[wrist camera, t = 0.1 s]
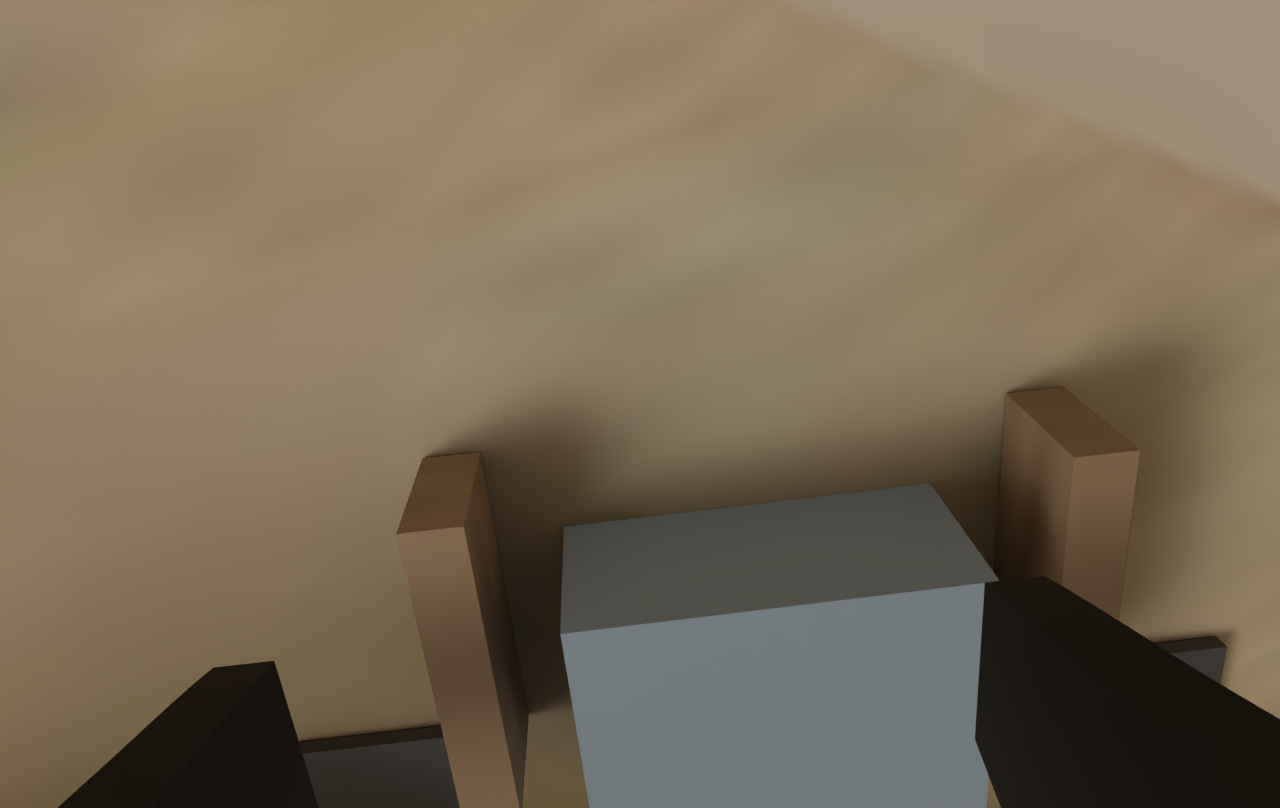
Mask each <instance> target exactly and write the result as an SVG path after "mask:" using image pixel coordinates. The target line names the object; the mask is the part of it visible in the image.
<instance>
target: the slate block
mask: <svg viewBox="0 0 1280 808" xmlns="http://www.w3.org/2000/svg"><path fill="white" fill-rule="evenodd" d="M994 581H999V579H998V578H997V576H996V575H995V574H994V572H993V571H992V569H991V568H990V567H989V565H988V564H987V562H986V561H985V559H984V558H983V557H982V555H981V554H980V552H979V551H978V550H977V548H976V547H975V545H974V544H973V543H972V541H971V540H970V538H969V537H968V536H967V534H966V533H965V531H964V530H963V529H962V527H961V526H960V524H959V523H958V522H957V520H956V519H955V517H954V516H953V515H952V513H951V512H950V510H949V509H948V508H947V506H946V505H945V503H944V502H943V501H942V499H941V498H940V496H939V495H938V494H937V492H936V491H935V489H934V488H933V487H932V485H931V484H930V483H928V484H919V485H911V486H902V487H894V488H886V489H877V490H869V491H860V492H852V493H844V494H835V495H827V496H818V497H810V498H802V499H793V500H785V501H776V502H768V503H760V504H751V505H743V506H734V507H726V508H718V509H709V510H701V511H692V512H684V513H676V514H667V515H659V516H650V517H642V518H634V519H625V520H617V521H608V522H600V523H592V524H583V525H575V526H566V527H564V535H563V566H562V597H561V629H560V635H561V641H562V647H563V653H564V659H565V665H566V671H567V677H568V683H569V689H570V695H571V701H572V707H573V713H574V718H575V724H576V730H577V736H578V742H579V748H580V754H581V760H582V766H583V772H584V778H585V784H586V790H587V796H588V802H589V808H987V792H988V772H987V770H986V767H985V765H984V762H983V759H982V757H981V754H980V752H979V749H978V746H977V744H976V741H975V728H976V712H977V697H978V681H979V665H980V650H981V634H982V618H983V603H984V587H985V582H994Z"/></svg>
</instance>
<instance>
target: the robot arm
mask: <svg viewBox="0 0 1280 808" xmlns="http://www.w3.org/2000/svg"><path fill="white" fill-rule="evenodd" d="M975 741H976V744H977V746H978V749H979V752H980V754H981V757H982V759H983V762H984V765H985V767H986V770H987V772H988V775H989V778H990V780H991V783H992V786H993V788H994V791H995V793H996V796H997V798H998V801H999V803H1000V805H1001V808H1280V719H1278V718H1277V717H1275V716H1273V715H1271V714H1270V713H1268V712H1266V711H1265V710H1263V709H1261V708H1259V707H1258V706H1256V705H1254V704H1253V703H1251V702H1249V701H1248V700H1246V699H1244V698H1243V697H1241V696H1239V695H1238V694H1236V693H1234V692H1232V691H1231V690H1229V689H1227V688H1226V687H1224V686H1223V685H1221V684H1219V683H1218V682H1216V681H1214V680H1213V679H1211V678H1209V677H1208V676H1206V675H1204V674H1203V673H1201V672H1200V671H1198V670H1196V669H1195V668H1193V667H1191V666H1190V665H1188V664H1187V663H1185V662H1183V661H1182V660H1180V659H1179V658H1177V657H1175V656H1174V655H1172V654H1170V653H1169V652H1167V651H1166V650H1164V649H1162V648H1161V647H1159V646H1158V645H1156V644H1155V643H1153V642H1151V641H1150V640H1148V639H1147V638H1145V637H1143V636H1142V635H1140V634H1139V633H1137V632H1136V631H1134V630H1132V629H1131V628H1129V627H1128V626H1126V625H1124V624H1123V623H1121V622H1120V621H1118V620H1116V619H1115V618H1113V617H1112V616H1110V615H1109V614H1107V613H1105V612H1104V611H1102V610H1101V609H1099V608H1097V607H1096V606H1094V605H1093V604H1091V603H1089V602H1088V601H1086V600H1085V599H1083V598H1081V597H1080V596H1078V595H1076V594H1075V593H1073V592H1071V591H1070V590H1068V589H1066V588H1065V587H1063V586H1061V585H1060V584H1058V583H1056V582H1054V581H1053V580H1051V579H1049V578H1047V577H1045V576H1039V577H1030V578H1021V579H1012V580H1003V581H994V582H985V587H984V603H983V618H982V634H981V650H980V665H979V681H978V697H977V712H976V728H975ZM58 808H319V807H318V803H317V800H316V797H315V793H314V790H313V787H312V784H311V780H310V777H309V774H308V770H307V767H306V764H305V761H304V757H303V754H302V751H301V748H300V744H299V741H298V738H297V734H296V731H295V728H294V725H293V721H292V718H291V715H290V711H289V708H288V705H287V702H286V698H285V695H284V692H283V689H282V685H281V682H280V679H279V675H278V672H277V669H276V666H275V662H274V661H269V662H260V663H251V664H242V665H233V666H224V667H215V668H213V669H211V670H210V671H209V672H208V673H207V674H205V675H204V676H203V677H202V678H200V679H199V680H198V681H197V682H196V683H194V684H193V685H192V686H191V687H190V688H189V689H188V690H186V691H185V692H184V693H183V694H182V695H181V696H180V697H179V698H177V699H176V700H175V701H174V702H173V703H172V704H171V705H170V706H169V707H167V708H166V709H165V710H164V711H163V712H162V713H161V714H160V715H159V716H158V717H156V718H155V719H154V720H153V721H152V722H151V723H150V724H149V725H148V726H147V727H146V728H145V729H143V730H142V731H141V732H140V733H139V734H138V735H137V736H136V737H135V738H134V739H133V740H132V741H130V742H129V743H128V744H127V745H126V746H125V747H124V748H123V749H122V750H121V751H120V752H119V753H117V754H116V755H115V756H114V757H113V758H112V759H111V760H110V761H109V762H108V763H107V764H105V765H104V766H103V767H102V768H101V769H100V770H99V771H98V772H97V773H96V774H94V775H93V776H92V777H91V778H90V779H89V780H88V781H87V782H86V783H84V784H83V785H82V786H81V787H80V788H79V789H78V790H77V791H76V792H75V793H73V794H72V795H71V796H70V797H69V798H68V799H67V800H66V801H65V802H64V803H62V804H61V805H60V806H59V807H58Z"/></svg>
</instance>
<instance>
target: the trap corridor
mask: <svg viewBox="0 0 1280 808" xmlns="http://www.w3.org/2000/svg"><path fill="white" fill-rule="evenodd" d="M1139 456H1140V450H1139V449H1138V448H1137V447H1136V446H1134V445H1133V444H1132V443H1131V442H1129V441H1128V440H1127V439H1126V438H1125V437H1123V436H1122V435H1121V434H1120V433H1118V432H1117V431H1116V430H1115V429H1114V428H1112V427H1111V426H1110V425H1109V424H1107V423H1106V422H1105V421H1104V420H1103V419H1101V418H1100V417H1099V416H1098V415H1096V414H1095V413H1094V412H1093V411H1092V410H1090V409H1089V408H1088V407H1087V406H1085V405H1084V404H1083V403H1082V402H1080V401H1079V400H1078V399H1077V398H1076V397H1074V396H1073V395H1072V394H1071V393H1069V392H1068V391H1067V390H1066V389H1065V388H1063V387H1057V388H1048V389H1040V390H1031V391H1022V392H1013V393H1006V397H1005V413H1004V429H1003V445H1002V461H1001V476H1000V492H999V508H998V524H997V539H996V555H995V571H994V574H995V575H996V576H997V578H998V579H999V581H1003V580H1012V579H1021V578H1030V577H1039V576H1045V577H1047V578H1049V579H1051V580H1053V581H1054V582H1056V583H1058V584H1060V585H1061V586H1063V587H1065V588H1066V589H1068V590H1070V591H1071V592H1073V593H1075V594H1076V595H1078V596H1080V597H1081V598H1083V599H1085V600H1086V601H1088V602H1089V603H1091V604H1093V605H1094V606H1096V607H1097V608H1099V609H1101V610H1102V611H1104V612H1105V613H1107V614H1109V615H1110V616H1112V617H1113V618H1115V619H1116V620H1118V619H1119V611H1120V604H1121V596H1122V588H1123V580H1124V573H1125V565H1126V557H1127V549H1128V541H1129V534H1130V526H1131V518H1132V510H1133V503H1134V495H1135V487H1136V479H1137V471H1138V464H1139ZM397 539H398V543H399V547H400V551H401V556H402V560H403V564H404V569H405V573H406V577H407V582H408V586H409V590H410V595H411V599H412V603H413V608H414V612H415V616H416V620H417V625H418V629H419V633H420V638H421V642H422V646H423V651H424V655H425V659H426V664H427V668H428V672H429V676H430V681H431V685H432V689H433V694H434V698H435V702H436V707H437V711H438V715H439V720H440V724H441V726H436V727H427V728H419V729H410V730H401V731H393V732H384V733H375V734H367V735H358V736H349V737H341V738H332V739H323V740H315V741H306V742H299V744H300V748H301V751H302V754H303V757H304V761H305V764H306V767H307V770H308V774H309V777H310V780H311V784H312V787H313V790H314V793H315V797H316V800H317V803H318V807H319V808H522V799H523V785H524V772H525V758H526V745H527V731H528V718H529V715H528V710H527V704H526V699H525V693H524V688H523V682H522V677H521V671H520V666H519V661H518V655H517V650H516V644H515V639H514V633H513V628H512V622H511V617H510V611H509V606H508V601H507V595H506V590H505V584H504V579H503V573H502V568H501V562H500V557H499V551H498V546H497V541H496V535H495V530H494V524H493V519H492V513H491V508H490V502H489V497H488V491H487V486H486V481H485V475H484V470H483V464H482V459H481V453H480V452H475V453H466V454H457V455H448V456H439V457H430V458H422V461H421V464H420V467H419V470H418V473H417V476H416V479H415V482H414V484H413V487H412V490H411V493H410V496H409V499H408V502H407V505H406V508H405V511H404V514H403V516H402V519H401V522H400V525H399V528H398V531H397ZM1155 644H1156V645H1158V646H1159V647H1161V648H1162V649H1164V650H1166V651H1167V652H1169V653H1170V654H1172V655H1174V656H1175V657H1177V658H1179V659H1180V660H1182V661H1183V662H1185V663H1187V664H1188V665H1190V666H1191V667H1193V668H1195V669H1196V670H1198V671H1200V672H1201V673H1203V674H1204V675H1206V676H1208V677H1209V678H1211V679H1213V680H1214V681H1216V682H1218V683H1219V684H1220V681H1221V676H1222V671H1223V665H1224V660H1225V655H1226V649H1227V647H1226V646H1225V645H1224V644H1223V643H1222V641H1221V640H1220V639H1219V638H1218V637H1217V636H1216V637H1207V638H1199V639H1190V640H1181V641H1173V642H1164V643H1155Z"/></svg>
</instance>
